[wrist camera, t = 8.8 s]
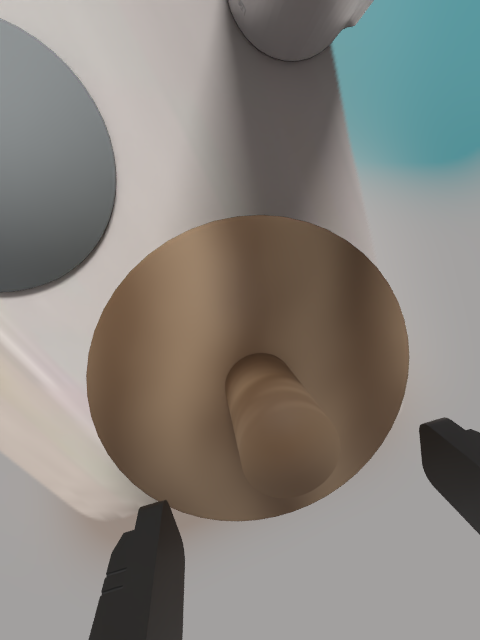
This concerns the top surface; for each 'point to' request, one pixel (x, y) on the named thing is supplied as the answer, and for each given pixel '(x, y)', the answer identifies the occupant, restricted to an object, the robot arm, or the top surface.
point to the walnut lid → (247, 368)
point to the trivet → (48, 165)
